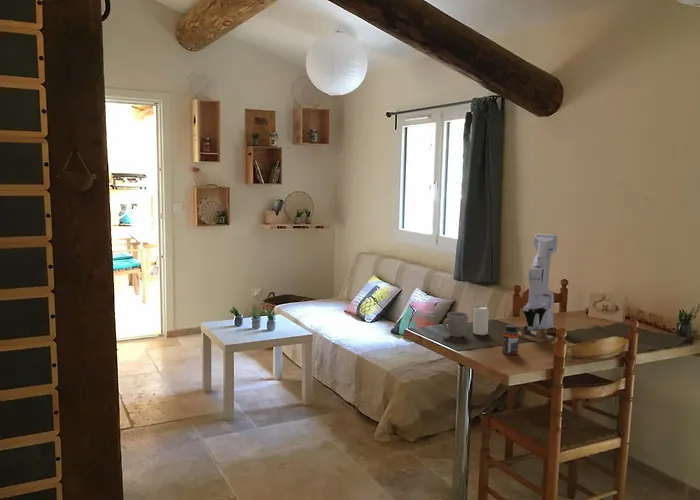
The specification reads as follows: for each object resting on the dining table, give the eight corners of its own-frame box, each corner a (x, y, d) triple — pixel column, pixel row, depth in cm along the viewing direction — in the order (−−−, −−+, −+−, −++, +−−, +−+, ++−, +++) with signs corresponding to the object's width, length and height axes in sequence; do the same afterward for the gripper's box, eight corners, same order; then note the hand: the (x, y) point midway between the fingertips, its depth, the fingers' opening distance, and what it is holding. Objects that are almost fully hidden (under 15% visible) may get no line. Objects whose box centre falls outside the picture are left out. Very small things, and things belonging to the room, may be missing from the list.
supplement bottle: (500, 351, 243) (501, 323, 241) (514, 351, 243) (516, 323, 242) (505, 355, 237) (506, 327, 235) (519, 355, 237) (521, 327, 236)
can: (487, 335, 266) (489, 309, 265) (472, 334, 268) (474, 308, 266) (487, 332, 273) (488, 306, 271) (472, 331, 274) (474, 305, 272)
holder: (526, 332, 273) (526, 322, 273) (553, 339, 263) (554, 328, 262) (512, 335, 267) (513, 325, 267) (540, 342, 256) (541, 332, 256)
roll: (531, 328, 268) (531, 312, 268) (541, 329, 264) (541, 314, 264) (524, 329, 265) (524, 313, 265) (534, 331, 261) (534, 315, 261)
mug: (457, 332, 272) (458, 311, 271) (471, 336, 264) (472, 315, 263) (436, 335, 266) (437, 313, 265) (449, 340, 258) (450, 317, 257)
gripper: (537, 291, 270) (535, 321, 272) (517, 295, 261) (516, 325, 263) (551, 294, 265) (549, 324, 266) (531, 297, 256) (530, 329, 257)
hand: (533, 325), depth 264 cm, fingers closed on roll, 5 cm apart
